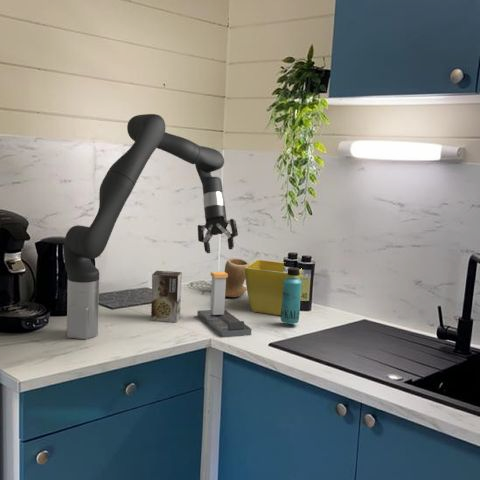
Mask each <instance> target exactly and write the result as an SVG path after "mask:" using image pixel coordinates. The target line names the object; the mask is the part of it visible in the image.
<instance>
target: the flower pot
mask: <svg viewBox="0 0 480 480" xmlns="http://www.w3.org/2000/svg"><path fill="white" fill-rule="evenodd" d="M284 263H285V262H281V261H274V260H273V261H272V260H265V259H264V260H263V259H256V260H254V261H253V262H251V263H250V264H249V265H248V266H246V267H245V277H246V279H245V284H246V285H245V287H246V289H247V290H246V292H247V296H248V301H249V305H250V308H251V311H252V312H254V313H261V314H268V315H277V316H281V309H282V297H283V296H282V293H283V286H284V280H285V279H286V278H287V277H296V278H299V279H300V277H301V273H302V268H301V269H300V275H298V276H292V275H288V274H287V273H283V268H284Z"/></svg>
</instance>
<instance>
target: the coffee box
mask: <svg viewBox="0 0 480 480" xmlns="http://www.w3.org/2000/svg"><path fill="white" fill-rule="evenodd" d="M182 274H183V273H182V272H181V271H170V270H169V271H168V270H156V271H154V272H153V273H152V274H151V305H150V306H151V308H150V309H151V313H150V314H151V315H150V321H152V322H154V321H155V322H169V323H178V321H179V320H180V319H181V301H182V299H181V298H182V276H183V275H182Z"/></svg>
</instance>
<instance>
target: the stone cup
mask: <svg viewBox="0 0 480 480" xmlns="http://www.w3.org/2000/svg"><path fill="white" fill-rule="evenodd" d="M248 265H250V264H249V262H248V261H247V260H244V259H242V258H238V257H235V258H234V257H231V258H229V259H227V260H226V263H225V266H224V272H225V273H227V274H228V277H227V278H226V289H225V298H238V297H240V296H242V295H243V294H244V293H246V292H247V287H246V286H244V284H245V282H246V277H245V267H246V266H248Z"/></svg>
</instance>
